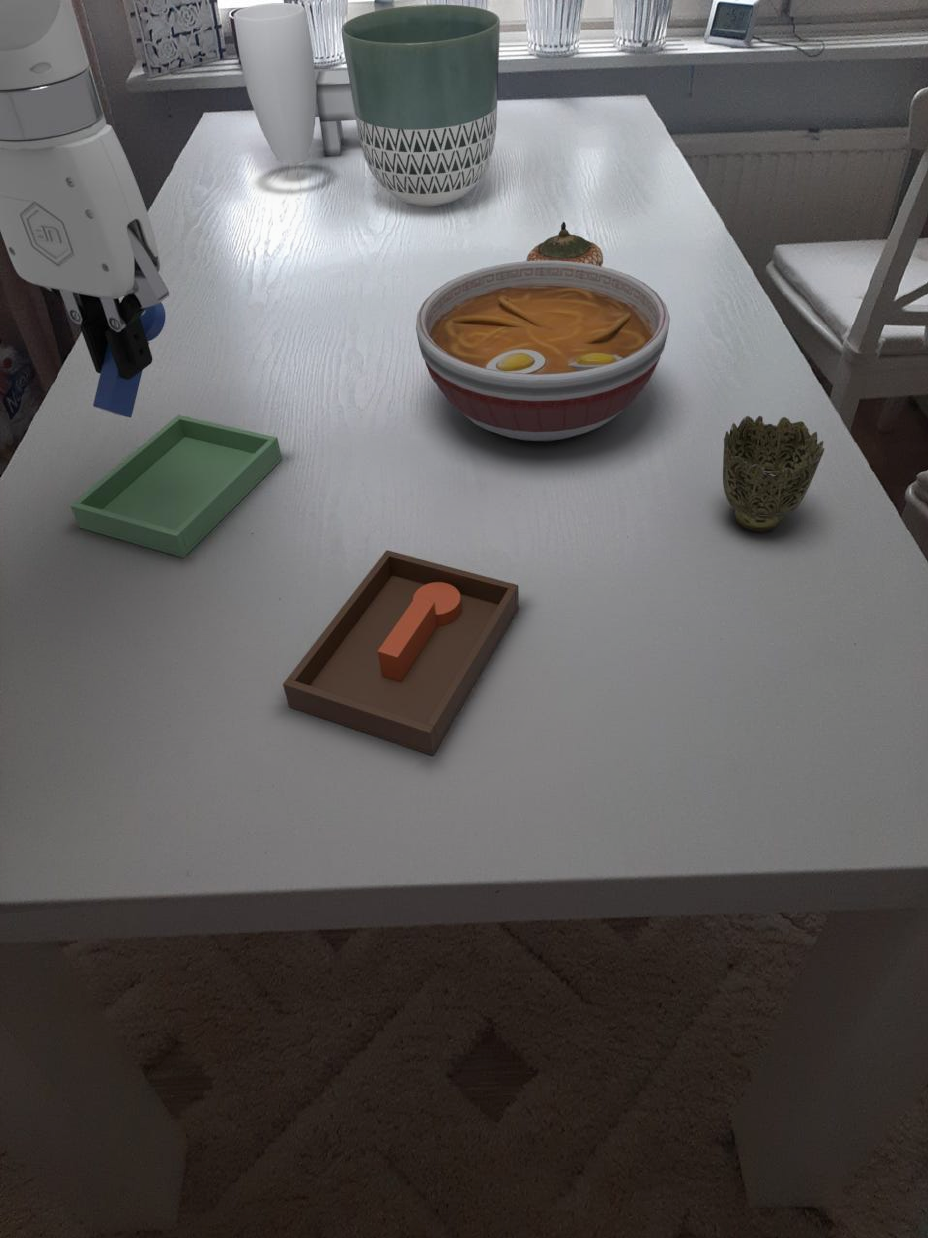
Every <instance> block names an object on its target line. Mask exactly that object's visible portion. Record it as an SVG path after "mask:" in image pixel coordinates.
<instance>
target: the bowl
mask: <svg viewBox="0 0 928 1238" xmlns="http://www.w3.org/2000/svg"><path fill="white" fill-rule="evenodd" d="M670 321H671V316H670V313H669V310H668V306H667V305H666V303H665V302H664V300H663V299H662V297H661V296H660V295H659V293H657V291H655V290H654V289H653V288H651V287H650V286H649V285H648V284H647V283H645V282H643V281H641V280H640V279H637V278H636V277H634V276H632V275H630V274H627V273H624V272H621V271H619V270H616V269H613V268H609V267H605V266H597V265H593V264H586V263H579V262H571V261H552V260H543V261H526V260H524V261H516V262H508V263H507V262H506V263H501V264H496V265H492V266H487V267H482V268H480V269H476V270H473V271H470V272H468V273H464V274H462V275H460V276H458V277H455V278H453V279H451V280H449V281H447V282H446V283H444V284H443V285H442V286H440V287H438V288H437V289H435V290H433V292H432V293H431V294H430V295H429V296H428V297H427V298H425V300H424V301H423V303H422V304H421V306H420V308H419V310H418V312H417V314H416V321H415V322H416V323H415V332H416V335H417V336H416V337H417V342H418V346H419V350H420V353H421V356H422V359H423V360H424V363H425V367H426V369H427V370H428V371H427V372H428V373H429V376H430V377H431V379H432V381H433V382H434V383H435V385H436V386H437V387H438V389H439V390H440V391H441V393H442V395H443V396H444V397H445V398H446V400H447V401H448V402H449V403H450V405H451V406H452V407H453V408H455V409H456V410H457V411H459V413H461V414H462V415H463V416H465V418H467V419H468V420H470V421H471V422H472V423H473V424H474V425H477V426H479V427H480V428H482V429H484V430H485V431H489V432H491V433H495V434H498V435H500V436H503V437H507V438H510V439H515V440H518V441H519V440H520V441H525V442H526V441H528V442H552V441H560V440H565V439H569V438H572V437H577V436H580V435H583V434H586V433H588V432H591V431H593V430H596V429H598V428H601V427H603V425H605V424H607V423H608V422H610V421H611V420H613V419H614V418H615V417H616V416H618V415H619V414H620V413H622V412H623V411H624V410H625V409H626V408H628V406H629V405H631V403H632V402H634V400H636V398H637V397H638V396H639V395H640V393H641V392H642V390H644V388H645V387H646V386H647V384H648V383H649V381H650V379H651V378H652V376H653V374H654V372H655V370H656V368H657V366H658V364H659V362H660V359H661V356H662V354H663V352H664V351H665V349H666V342H667V338H668V334H669V328H670Z"/></svg>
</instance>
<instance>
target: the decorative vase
mask: <svg viewBox="0 0 928 1238" xmlns="http://www.w3.org/2000/svg"><path fill="white" fill-rule="evenodd" d="M763 419H764V418H763V416H762V415H758V416H757V417H756V419H753V417H751V416H750V415H746V416H745V417H743V418H742V419H741V421H740V422H739V424H738V425H737V424H736V423H735V422H733V423H732V424H731V426H730V429H729V431H728V430H726V431H725V433H724V437H723V458H722V459H723V460H722V485H723V491H724V495H725V497H726V498H725V499H726V500H727V502H728V503H729V505H730V506H731V507H732V508H733V509H734V516H735V519H736V521H737V523H738V524H739V526H741V527H742V528H744V529H746V530H748V531H751V532H757V533H763V532H764V533H765V532H768V531H771V530H773V529H774V528H775V527H777V526H778V524H779V523H780V521H781V520H782V518H783V517H785V516H787V515H789V514H790V513H793V511H795V510H796V509H797V507H799V506H800V505H801V503H802V501H803V500H804V498H805V497H806V495H807V492H808V490H809V488H810V487H811V484H812V481H813V478H814V476H815V474H816V471H817V469H818V466H819V464H820V461H821V459H822V457H823V455H824V453H825V447H824V440H821V441H819V443H818V440H819V439H818V432H817V431H815V432H813V433H812V434H810V431H809V427H808V426H807V425H806V424H805V422H804V421H802V420H799V421H796V422H791V420H790V419H789V418H787V417H785V416H782V417H781V418H780V419H779V421H778V423H777V424H772V423H768V424H767V423H765V422H764V420H763Z"/></svg>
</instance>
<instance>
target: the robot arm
mask: <svg viewBox="0 0 928 1238" xmlns="http://www.w3.org/2000/svg"><path fill="white" fill-rule="evenodd" d="M83 40H84V39H83V38H82V34H81V31H80V27H79V24H78V19H77V16H76V13H75V9H74V7H73V3H72V0H0V234H1V237H2V239H3V242H4V246H5V248H6V251H7V254H8V256H9V259H10V261H11V264H12V265H13V268H14V270H15V271H16V273H17V275H18V276H19V277H20V278H21V279H23V280H25V281H26V282H27V283H30V284H33V285H36V286H39V287H43V288H45V289H46V290H48V291H50V292H52V293H53V294H54V296H55V297H56V298H57V299H59V301H60V302H61V303H62V304H63V305H64V307H65V309H66V311H67V314H68V316H69V318H70V320H71V321H72V322H73V323H74V324H77V325H80V326H79V328H80V331H81V333H82V336H83V338H84V339H83V340H84V343H85V345H86V348H87V350H88V353H89V356H90V359H91V362H92V364H93V367H94V369H95V372H96V373H97V374H100V373H101V369H102V366H103V362H104V358H105V354H106V349H107V345H108V343H109V346H110V349H111V352H112V355H113V358H114V361H115V364H116V367H117V370H118V371H119V374H120V376H121V378H123V379H127V380H130V379H131V378H133V377H134V376H135V375H137V374H138V373H139V372H141V371H142V370H145V369H146V368H147V367H148V366H150V365H151V364H152V362H153V354H152V352H151V348H150V344H149V345H148V342H149V341H148V342H147V339H146V335H145V332H144V329H143V326H142V322H141V319H140V317H142V316H143V315H144V314H145V309H146V308H148V307H151V306H155V305H157V304H159V303H160V302H161V303H162V302H164V300H166V299H167V298H169V297H170V291H169V289H168V287H167V285H166V283H165V282H164V280H163V278H162V276H161V274H160V273H159V272H160V269H161V260H160V259H161V258H160V253H159V249H158V244H157V240H156V237H155V233H154V229H153V226H152V223H151V220H150V216H149V214H148V210H147V208H146V205H145V202H144V199H143V196H142V193H141V191H140V188H139V186H138V183H137V179H136V177H135V175H134V172H133V170H132V168H131V165H130V163H129V160H128V157H127V155H126V153H125V151H124V149H123V147H122V145H121V142H120V140H119V137H118V136H117V134H116V132H115V130H114V128H113V126H112V125H111V124H108V123H107V120H106V117H105V113H104V109H103V106H102V101H101V99H100V95H99V92H98V88H97V86H96V81H95V79H94V75H93V71H92V69H91V65H90V61H89V57H88V55H87V51H86V47H85V44H84V41H83ZM120 298H122V299H121V300H120ZM142 372H143V371H142Z"/></svg>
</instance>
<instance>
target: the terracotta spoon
mask: <svg viewBox="0 0 928 1238" xmlns="http://www.w3.org/2000/svg"><path fill="white" fill-rule="evenodd" d="M460 612H461V596H460V593H459V591H458V590H457V589H456V588H455V587H454V586H452V585H450V584H448V583H443V582H434V583H429V584H426V585H424V586H422V587H420V588H419V589H418V590H417V591H416V592H415V594H414V596H413V601H412V603H411V604H410V606H409V607H408V608H407V610H406V611H405V613H404V614H403V615H402V617H401V618H400V620H399V621H398V623H397V624H396V625H395V627H394V628H393V630H392V631H391V633H390V634H389V635H388V637H387V638H386V640H385V641H384V643H383V644H382V645H381V647H380V648H379V650H378V657H379V663H380V669H381V675H382V676H384V677H387V678H390V679H393V680H397V681H400V682H401V681H402V679H403V678H404V676H405V675H406V673H407V672H408V670H409V669H410V667H411V666H412V664H413V663H414V661H415V660H416V658H417V657H418V655H419V654H420V652H421V650H422V649H423V647H424V646H425V644H426V643H427V641H428V640H429V638H430V637H431V635H432V634H433V632H434V631H435V629H436V628H437V626H440V625H445V624H448V623H450V622H452V621H454V620H455V619H456V618H457V617H458V616H459V614H460Z"/></svg>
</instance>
